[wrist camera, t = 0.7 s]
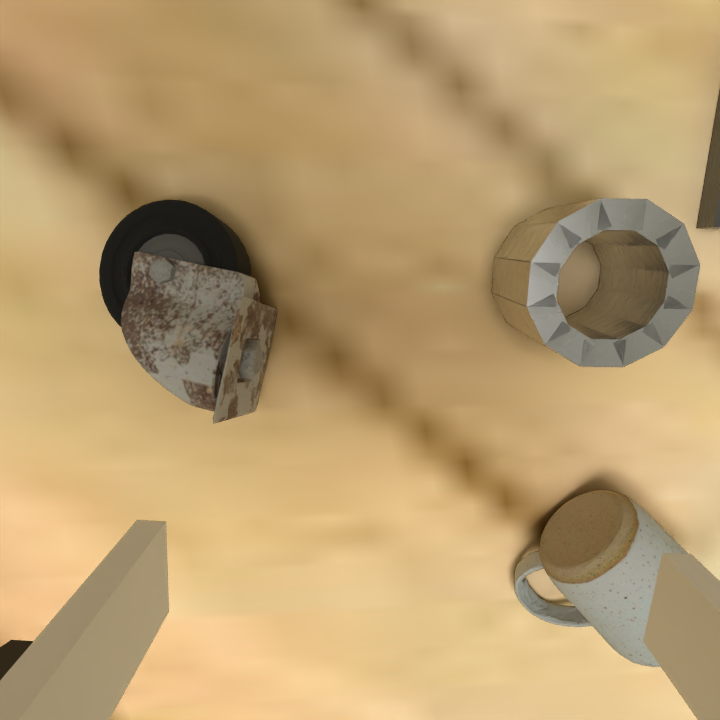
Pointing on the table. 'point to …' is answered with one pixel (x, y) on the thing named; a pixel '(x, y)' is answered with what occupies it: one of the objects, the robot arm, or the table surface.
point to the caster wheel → (189, 305)
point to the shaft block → (712, 181)
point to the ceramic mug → (600, 569)
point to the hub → (617, 279)
